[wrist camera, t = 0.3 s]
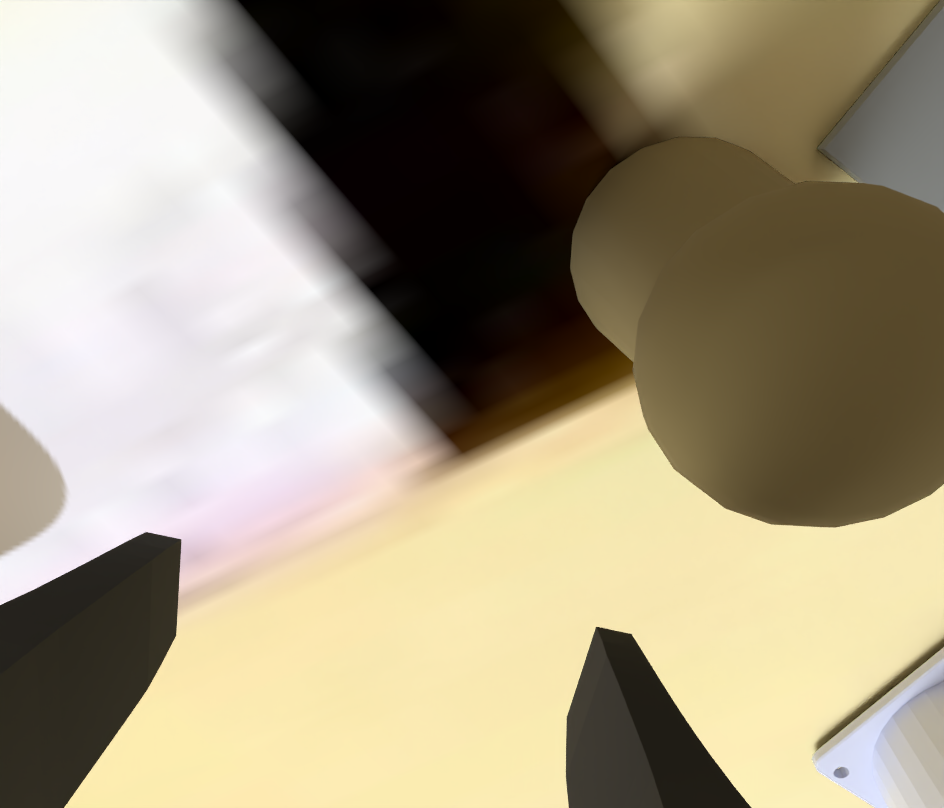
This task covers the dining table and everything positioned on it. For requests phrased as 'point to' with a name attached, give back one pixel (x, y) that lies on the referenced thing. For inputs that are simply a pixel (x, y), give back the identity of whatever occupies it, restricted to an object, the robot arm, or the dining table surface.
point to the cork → (773, 329)
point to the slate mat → (899, 120)
